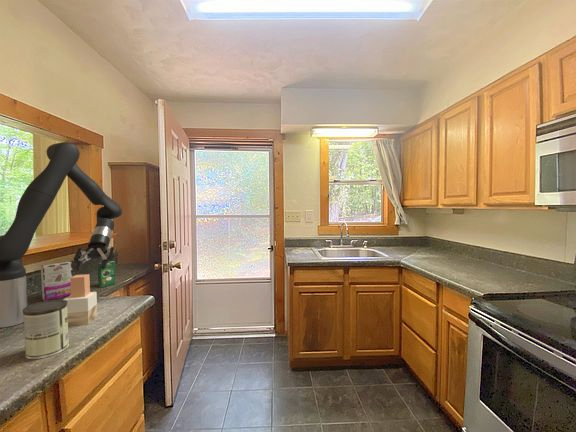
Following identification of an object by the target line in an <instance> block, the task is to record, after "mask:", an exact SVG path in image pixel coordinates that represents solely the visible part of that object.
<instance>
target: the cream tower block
mask: <svg viewBox="0 0 576 432" xmlns="http://www.w3.org/2000/svg"><path fill="white" fill-rule="evenodd" d="M97 297H98V295H97V291H90V293H89V294H88V295H87V296H85V297H75V298H71V295H70V296H67V297H64V299H63V300H66V301H67V313H75V312H86V311H89V310H90V309H92V308H93V307H94V306H95V305H96V304H97V305H98V301H97V299H98V298H97Z"/></svg>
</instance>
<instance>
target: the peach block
mask: <svg viewBox="0 0 576 432" xmlns="http://www.w3.org/2000/svg"><path fill="white" fill-rule="evenodd" d="M72 276H73V277H71V278H70V282H71V298H75V297H85V296H87V295H88V294H89V293H90V292H91V286H90V285H91V284H90V283H91V282H90V280H91V279H90V274H89V273H88V274H85V273H84V274H75V275H72Z"/></svg>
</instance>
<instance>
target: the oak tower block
mask: <svg viewBox="0 0 576 432" xmlns="http://www.w3.org/2000/svg"><path fill="white" fill-rule="evenodd" d="M98 315H99V314H98V303H97V304H96V305H95V306H94V307H93V308H92V309H90V310H89V311H86V312H75V313H67V317H68V327H72V326H83V325H89V324H90V323H92V322H93V321H94V320H95V319H96V318H97V317H98Z"/></svg>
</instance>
